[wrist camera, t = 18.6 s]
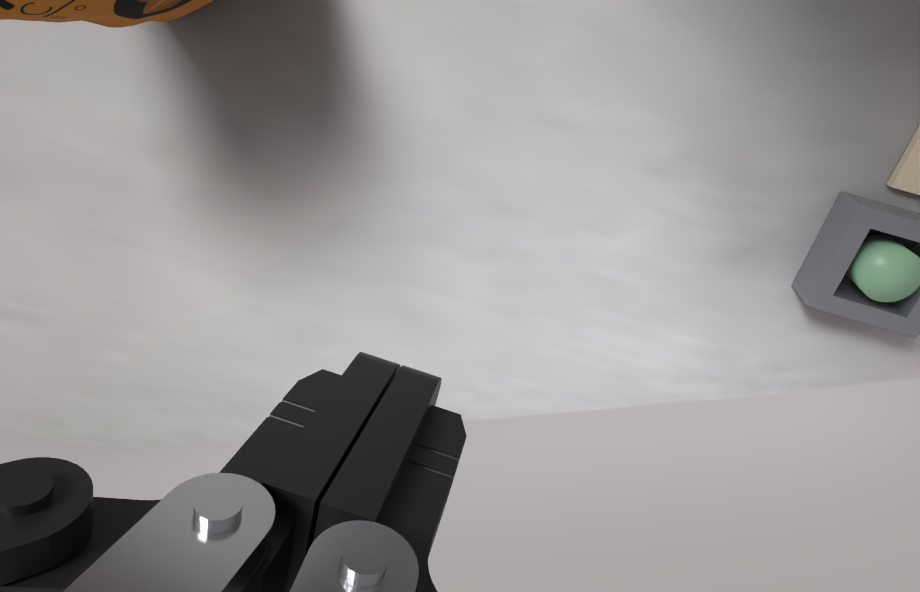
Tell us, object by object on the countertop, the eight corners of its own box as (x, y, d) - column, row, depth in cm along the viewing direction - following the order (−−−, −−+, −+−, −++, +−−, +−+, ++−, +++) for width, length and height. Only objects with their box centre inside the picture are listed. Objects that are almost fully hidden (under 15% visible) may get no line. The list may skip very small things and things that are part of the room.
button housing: (840, 191, 35) (860, 205, 32) (950, 222, 34) (979, 238, 32) (791, 286, 37) (806, 306, 35) (892, 316, 37) (915, 338, 34)
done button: (859, 228, 35) (877, 242, 32) (914, 243, 34) (936, 258, 32) (833, 276, 36) (848, 292, 34) (885, 291, 36) (904, 309, 33)
